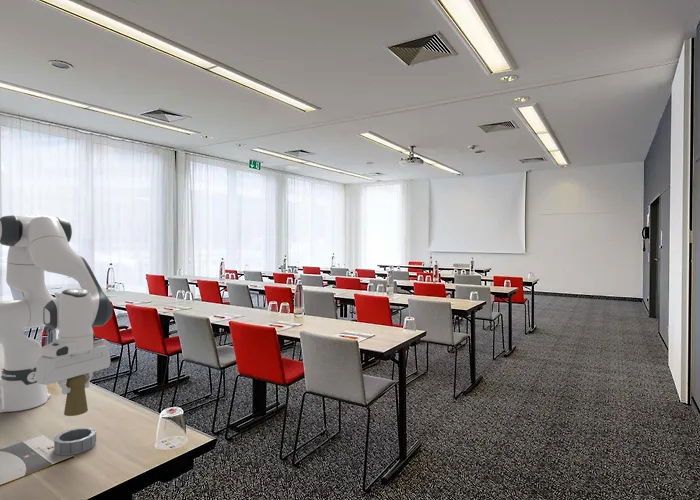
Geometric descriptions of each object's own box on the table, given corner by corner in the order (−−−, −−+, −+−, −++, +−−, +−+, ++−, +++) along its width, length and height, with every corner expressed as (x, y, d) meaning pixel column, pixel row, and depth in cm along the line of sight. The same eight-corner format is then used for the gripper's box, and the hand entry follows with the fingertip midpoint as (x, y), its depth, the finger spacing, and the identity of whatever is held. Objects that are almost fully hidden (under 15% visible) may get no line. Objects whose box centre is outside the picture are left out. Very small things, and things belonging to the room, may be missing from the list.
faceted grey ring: (46, 450, 126) (46, 438, 126) (81, 436, 135) (81, 424, 135) (68, 458, 121) (68, 446, 121) (103, 443, 131) (103, 431, 131)
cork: (75, 417, 124) (75, 379, 124) (58, 414, 126) (58, 377, 126) (92, 409, 130) (92, 373, 130) (76, 407, 132) (76, 371, 131)
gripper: (101, 336, 138) (101, 379, 139) (32, 350, 120) (32, 399, 120) (115, 338, 136) (115, 382, 136) (46, 353, 117) (46, 403, 117)
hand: (75, 390), depth 128 cm, fingers closed on cork, 4 cm apart
